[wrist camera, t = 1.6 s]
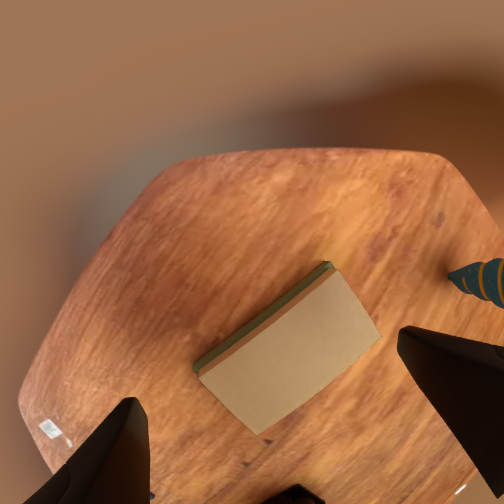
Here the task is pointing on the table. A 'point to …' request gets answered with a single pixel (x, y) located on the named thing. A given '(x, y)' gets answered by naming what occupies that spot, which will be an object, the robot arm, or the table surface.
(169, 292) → the table surface
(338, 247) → the table surface
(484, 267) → the ornament
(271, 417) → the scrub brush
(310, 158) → the table surface
